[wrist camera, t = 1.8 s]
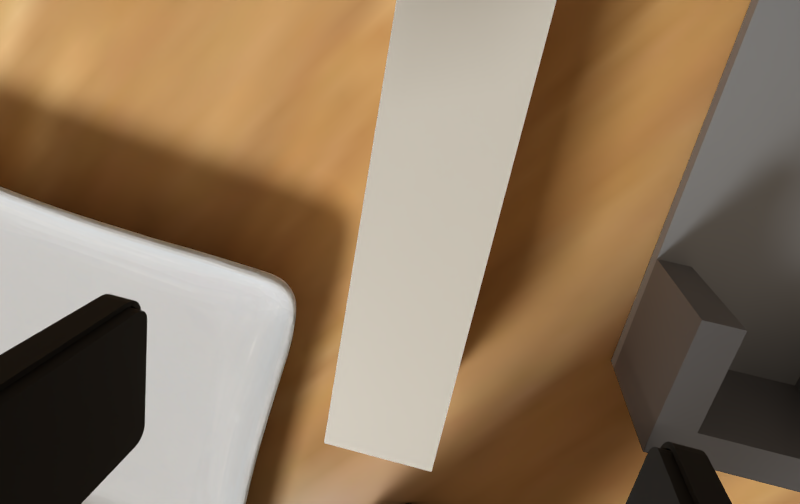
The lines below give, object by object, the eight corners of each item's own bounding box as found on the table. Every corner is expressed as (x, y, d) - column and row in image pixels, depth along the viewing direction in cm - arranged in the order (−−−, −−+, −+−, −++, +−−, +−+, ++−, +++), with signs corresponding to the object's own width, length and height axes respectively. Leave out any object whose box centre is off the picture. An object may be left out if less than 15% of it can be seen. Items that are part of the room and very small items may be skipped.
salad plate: (243, 572, 32) (216, 630, 29) (-82, 448, 33) (-143, 491, 30) (327, 258, 24) (302, 290, 21) (-107, 106, 25) (-194, 115, 22)
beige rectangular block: (431, -23, 19) (404, -49, 14) (543, -1, 19) (561, -20, 14) (361, 356, 25) (324, 442, 20) (446, 377, 25) (431, 471, 20)
